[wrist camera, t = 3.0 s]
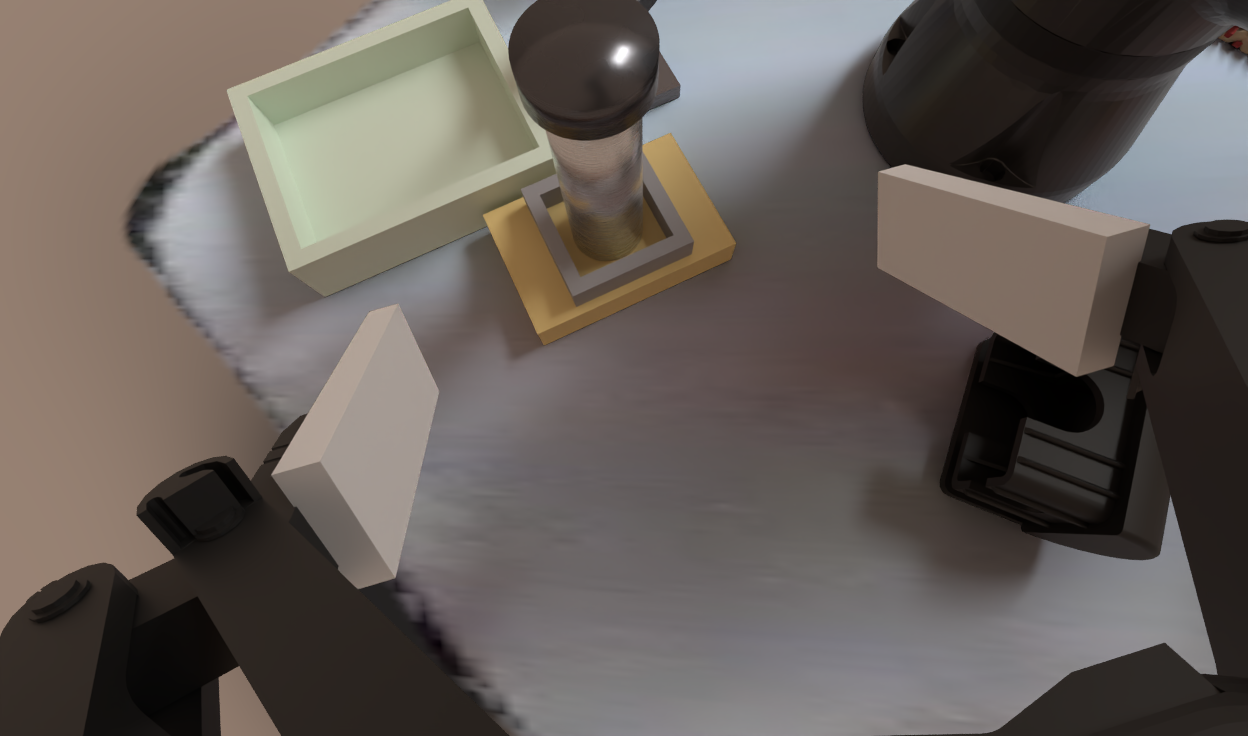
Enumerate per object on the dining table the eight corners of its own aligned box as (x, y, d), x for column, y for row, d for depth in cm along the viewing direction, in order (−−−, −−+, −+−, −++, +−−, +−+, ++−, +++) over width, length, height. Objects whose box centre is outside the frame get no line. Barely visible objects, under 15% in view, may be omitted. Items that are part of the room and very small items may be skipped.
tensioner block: (669, 154, 35) (672, 115, 31) (730, 259, 33) (740, 229, 29) (491, 232, 34) (474, 200, 30) (544, 345, 32) (532, 324, 28)
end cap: (1073, 556, 28) (1204, 568, 21) (933, 500, 29) (1017, 494, 22) (1111, 378, 30) (1240, 339, 24) (980, 331, 31) (1069, 281, 25)
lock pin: (629, 174, 32) (619, -35, 20) (669, 247, 31) (686, 71, 19) (546, 210, 32) (485, 19, 20) (584, 286, 30) (544, 132, 18)
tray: (492, 37, 38) (477, -11, 34) (571, 189, 34) (563, 153, 31) (265, 129, 36) (226, 90, 33) (325, 297, 33) (288, 271, 30)
